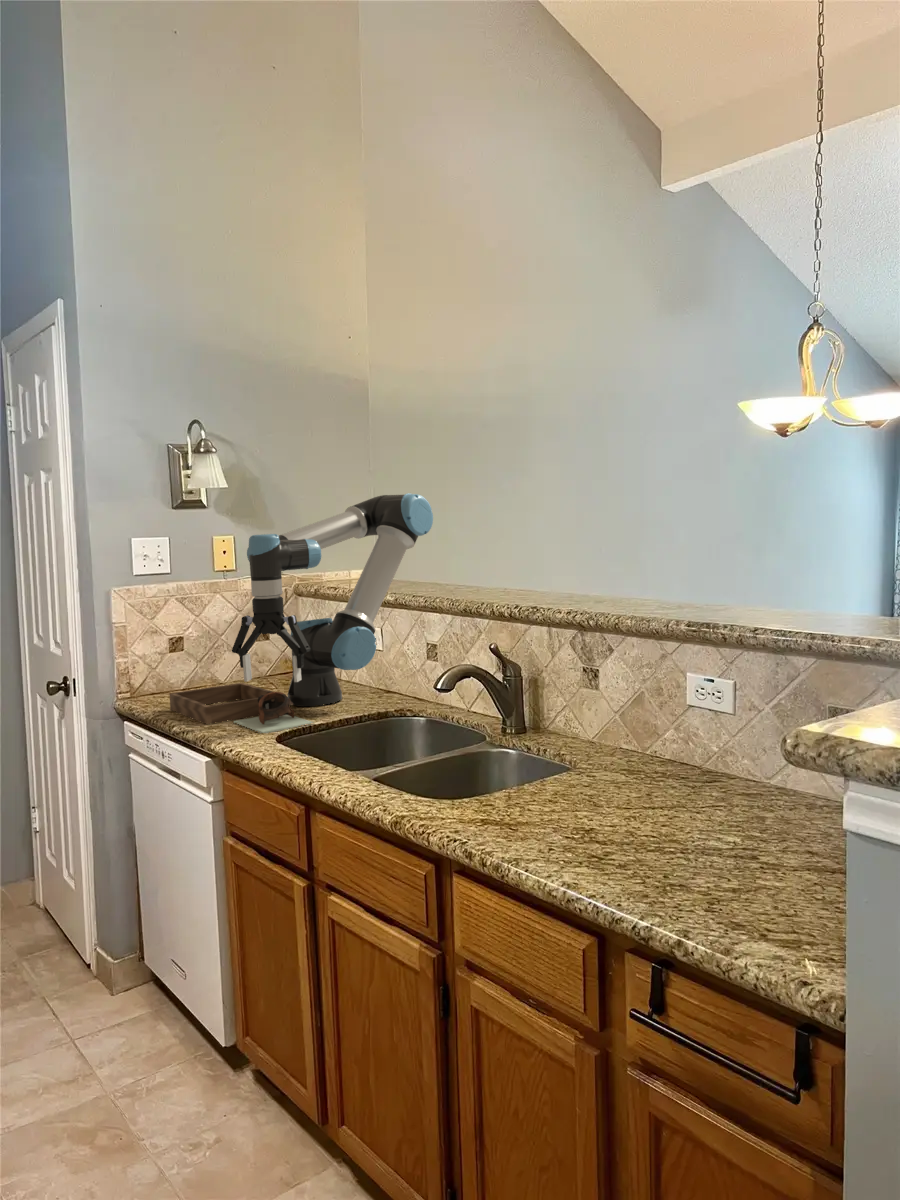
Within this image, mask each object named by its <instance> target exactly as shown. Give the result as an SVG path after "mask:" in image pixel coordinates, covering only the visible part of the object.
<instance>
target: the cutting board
mask: <svg viewBox="0 0 900 1200" xmlns="http://www.w3.org/2000/svg"><path fill="white" fill-rule="evenodd" d="M235 723H237V724H236V725H238V724H239V725H238V726H240V725H242V726H241V727H243V726H245V727H244V728H246V727H247V728H246V729H248V728H250V729H249V730H251V729H252V730H251V731H253V730H255V731H254V732H256V731H258V732H257V733H259V732H260V733H259V734H261V733H266V734H270V733H275V732H280V731H285V730H284V729H287V730H290V729H289V728H292V729H294V728H293V727H297V728H299V727H298V726H301V725H305V724H311V723H314V721H311V720H307V719H305V718H301V717H298V716H296V715H294V718H293V717H291V716H290V715H283V716H279V718H277V719H272V720H268V721H265V722H264V724H262V723H261V722H260V720H259V716H254V717H248V718H243V719H237V720H233V724H235ZM314 724H315V723H314ZM269 732H270V733H269Z"/></svg>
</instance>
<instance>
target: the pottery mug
mask: <svg viewBox="0 0 900 1200" xmlns="http://www.w3.org/2000/svg"><path fill="white" fill-rule="evenodd" d="M272 699H275V700H274V701H271V700H272ZM258 703H259V704H258V705H259V709H258V710H259V713H260V715H259V716H258V717H259V720H260V722H261V723H262V724H264V722H265V721H268V720H272V719H277V718H279V716H283V715H290V716H291V717H293V718H294V716H295V710H293V708H292V707H290V706H294V705H293V703H292V702H291V701H290V699H289V698H288V697H287V695H286V693H283V692H281V691H273V692H271V693H268V694H266V695H261V696H259V697H258ZM262 709H263V710H262Z"/></svg>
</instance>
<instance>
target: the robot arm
mask: <svg viewBox="0 0 900 1200" xmlns="http://www.w3.org/2000/svg"><path fill="white" fill-rule="evenodd" d="M433 521H434V514H433V511H432V506H431V504H430V502H429V501H428V500H427V499H426V498H425V497H424V496H423V495H421V494H419V493H411V492H410V493H405V494H382V495H379V496H378V495H377V496H374V497H371V498H368V499H367V500H364V501H361V502H359V503H357V504H354V505H351V506H349V507H347V508H346V509H345V511H344V512H342V513H339V514H336V515H333V516H330V517H327V518H325V519H321V520H319V521H316V522H313V523H310V524H308V525H305V526H302V527H299V528H296V529H293V530H291V531H287V532H283V533H282V534H280V535H279V534H277V533H266V534H265V533H264V534H253V535H250V536H249V538H248V547H247V549H246V557H247V560H248V562H249V569H250V570H249V571H250V573H249V574H250V585H251V590H250V591H251V596H252V597H253V598H252V599H251V604H252V613H253V615H252V616H250V615H245V616H242V617H241V625H240V627H239V630H238V633H237V636H236V638H235V641H234V644H233V646H232V647H231V653H233V654H238V655H239V666H240V668H242V670H243V680H244V683H246V682H247V683H248V682H249V681H251V680H253V676H252V660H251V654H250V653H249V651H250V650H251V649H252V646H253V645H255V644H254V643H255V642H257V640H258V638H259V637H260V636H261V634H262V635H267V634H269V635H275V634H276V635H277V636H278V637H280V639H282V640H283V642H284V643H285V644H286V645H287V647H288V648H289V649H290V650H291V663H292V665H291V666H292V677H291V681H290V683H289V688H288V692H287V695H286V696H287V697H288V698H289V699H290V701H291V702H292V703H293V705H292V706H297V707H316V706H315V705H320V706H324V705H323V704H328V705H331V704H330V703H333V704H335V703H334V702H337V701H339V700H341V699H342V700H343V691H342V689H341V685H340V683H339V680H338V678H337V675H336V671H335V669H339V670H344V671H357V670H360V669H363V668H365V667H366V666H367V665H369V663H370V662H371V661H372V660H373V658H374V656H375V654H376V651H377V644H376V641H377V640H376V636H375V634H376V627H375V625H374V622H375V619H376V617H377V616H378V613H379V611H380V609H381V607H382V604H383V602H384V599H385V597H386V595H387V593H388V591H389V588H390V586H391V584H392V582H393V581H394V580H393V579H394V577H395V575H396V573H397V571H398V569H399V566H400V564H401V562H402V561H403V558H404V556H405V553H406V552H407V550H409V549H413V548H414V546H415V544H416V542H417V540H418V538H419V537H421V536H424V535H427V534H428V533H429V532H430V531H431V529H432V527H433V523H434V522H433ZM369 536H378V538H377V539H376V542H375V543H374V546H373V549H372V550H371V552H370V554H369V556H368V559H367V561H366V562H365V565H364V567H363V569H362V572H361V573H360V574H359V575H360V576H359V578H358V580H357V582H356V584H355V586H354V589H353V591H351V592H352V593H351V595H350V596H349V599H348V601H347V603H346V605H345V608H344V609H342V610H340V611H338V612H336V613H335V616H334V618H331V617H325V618H315V619H309V620H308V619H307V620H300V621H297V620H298V619H297V616H296V614H292V615H289V616H285V615H284V610H285V609H284V608H285V607H284V598H283V597H282V596H281V595H282V594H283V582H282V581H283V580H282V572H284V571H296V570H308V569H312V568H315V567H317V566H319V564H320V562H321V560H322V550H323V549H326V548H328V547H331V546H333V545H337V544H339V543H342V542H344V541H347V540H350V539H353V538H355V539H363V538H365V537H369ZM252 624H253V625H254V626H255V628H254V629H253V630H252V631H251V634H250V636H249V637H248V638H247V639H246V637H247V635H248V632H249V630H250V626H251V625H252ZM284 624H286V625H288V628H289V629H290V633H289V631H288V629H287V628H286V627H285V625H284ZM245 640H246V641H245ZM342 700H341V701H342ZM339 702H340V701H339ZM337 703H338V702H337Z"/></svg>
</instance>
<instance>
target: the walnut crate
mask: <svg viewBox="0 0 900 1200" xmlns="http://www.w3.org/2000/svg"><path fill="white" fill-rule="evenodd" d="M271 692H274V691H272V690H269V689H265V688H262V687H259V686H254V685H252V684H249V683H246V682H238V683H237V682H236V683H231V684H225V685H217V686H211V687H210V686H209V687H205V688H199V689H197V688H196V689H192V690H184V691H179V692H178V691H177V692H172V693H170V692H169V707H170V708H169V709H171V710H170V711H172V710H173V711H172V712H175V711H176V712H175V713H177V712H178V714H179V713H181V714H180V715H182V714H183V715H182V716H184V715H185V717H187V716H188V717H187V718H189V717H191V718H190V719H192V718H193V719H192V720H194V719H196V720H195V721H197V720H198V721H197V722H199V721H201V722H200V723H202V722H203V723H202V724H204V723H206V724H205V725H207V724H209V725H211V724H210V723H215V722H220V723H223V722H222V721H226V722H228V721H227V720H232V721H235V720H234V719H237V720H241V719H240V718H243V719H247V718H246V717H248V718H253V717H252V716H254V717H258V716H257V715H260V713H259V710H258V709H259V705H258V704H259V703H258V697H259V696H261V695H266V694H268V693H271ZM236 699H240V700H236ZM242 699H244V700H242ZM230 700H234V701H230ZM274 700H275V699H272V700H271V701H274ZM224 701H228V702H224ZM218 702H221V703H218ZM211 703H215V704H211ZM205 704H209V705H205ZM262 710H263V709H262ZM215 724H216V723H215Z"/></svg>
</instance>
